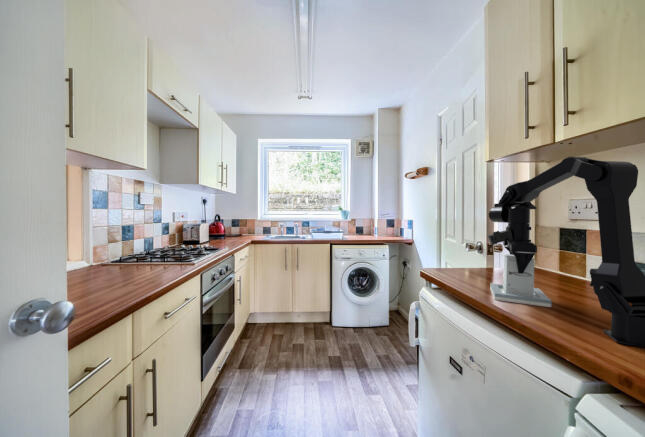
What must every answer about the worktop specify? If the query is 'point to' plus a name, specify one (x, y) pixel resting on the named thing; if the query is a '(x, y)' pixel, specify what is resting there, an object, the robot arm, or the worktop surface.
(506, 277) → the supplement box
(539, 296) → the tile coaster
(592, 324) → the worktop surface
